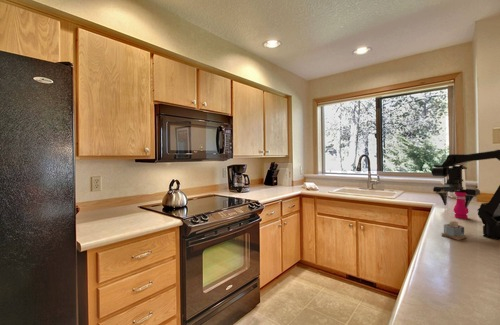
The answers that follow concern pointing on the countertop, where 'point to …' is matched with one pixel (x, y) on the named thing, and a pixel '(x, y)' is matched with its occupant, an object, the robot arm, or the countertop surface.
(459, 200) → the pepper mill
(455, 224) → the post stand
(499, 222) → the robot arm
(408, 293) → the countertop surface
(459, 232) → the steel collar
